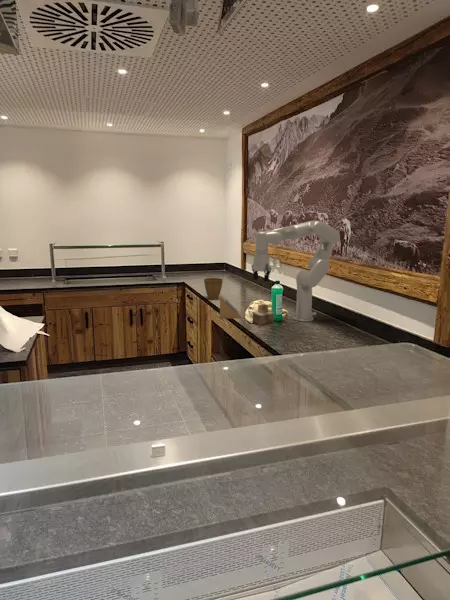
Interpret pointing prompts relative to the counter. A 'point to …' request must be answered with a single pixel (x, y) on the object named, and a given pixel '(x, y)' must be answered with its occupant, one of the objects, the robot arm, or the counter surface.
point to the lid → (262, 310)
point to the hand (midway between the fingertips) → (261, 280)
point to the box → (263, 319)
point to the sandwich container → (228, 309)
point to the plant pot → (213, 287)
